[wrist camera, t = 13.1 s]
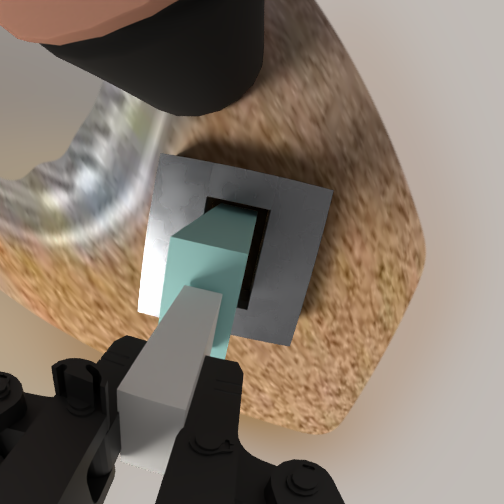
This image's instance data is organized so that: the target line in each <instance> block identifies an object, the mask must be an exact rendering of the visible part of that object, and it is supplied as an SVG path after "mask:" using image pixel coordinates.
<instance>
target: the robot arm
mask: <svg viewBox="0 0 504 504" xmlns="http://www.w3.org/2000/svg"><path fill="white" fill-rule="evenodd" d="M222 295H223V294H221V293H217V292H212V291H208V290H204V289H199V288H195V287H191V286H187V285H184V287H183V288H182V290H181V291H180V293H179V294H178V296H177V297H176V299H175V300H174V302H173V303H172V305H171V306H170V308H169V309H168V311H167V312H166V314H165V315H164V317H163V318H162V320H161V321H160V323H159V324H158V326H157V327H156V329H155V330H154V332H153V334H152V335H151V337H150V338H149V340H148V341H145V340H141V339H138V338H135V337H131V336H128V335H126V336H124V337H122V338H120V339H118V340H116V341H114V342H113V344H112V345H111V346H110V347H109V348H108V350H107V352H105V353H104V355H103V356H102V357H101V360H99V361H98V362H97V363H94V362H92V361H89V360H85V359H80V358H69V359H65V360H61V361H58V362H57V363H55V364H54V365H53V366H52V374H53V381H54V387H55V392H56V395H55V396H54V397H46V396H40V395H34V394H30V393H25V392H23V388H22V384H21V383H20V381H19V380H18V379H17V378H16V377H14V376H13V375H11V374H9V373H5V372H0V504H103V503H104V500H105V498H106V495H107V493H108V491H109V488H110V486H111V484H112V482H113V479H114V476H115V465H114V464H115V462H116V459H117V457H118V455H119V453H120V455H121V462H123V463H126V464H129V465H132V466H135V467H138V468H141V469H145V470H148V471H152V472H155V473H158V474H162V475H164V477H163V480H162V483H161V487H160V490H159V493H158V496H157V499H156V503H155V504H345V503H344V501H343V499H342V497H341V495H340V493H339V491H338V489H337V487H336V485H335V483H334V481H333V479H332V477H331V476H330V475H329V473H328V472H327V471H326V470H325V469H324V468H322V467H321V466H319V465H318V464H316V463H313V462H309V461H307V460H295V459H294V460H290V461H285V462H283V463H281V464H280V465H278V466H275V465H272V464H270V463H267V462H265V461H262V460H260V459H258V458H256V457H254V456H252V455H251V454H250V453H249V452H247V451H246V450H245V449H244V448H243V446H242V445H241V443H240V441H239V438H238V424H239V414H240V404H241V394H242V384H243V374H244V373H243V371H242V370H241V368H240V366H239V364H238V362H234V361H229V360H224V359H220V358H215V357H211V356H210V354H211V350H212V345H213V340H214V335H215V330H216V325H217V320H218V315H219V310H220V305H221V300H222Z"/></svg>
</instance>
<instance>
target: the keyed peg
mask: <svg viewBox="0 0 504 504" xmlns="http://www.w3.org/2000/svg"><path fill="white" fill-rule="evenodd" d="M257 214H258V211H256V210H251V209H247V208H242V207H238V206H233V205H229V204H224V203H220V204H219V205H217V206H216V207H214V208H213V209H211V210H210V211H208V212H207V213H205V214H203V215H202V216H200V217H199V218H197V219H196V220H194V221H193V222H191V223H190V224H188V225H187V226H185V227H184V228H182V229H181V230H179V231H178V232H177V233H175V234H174V235H172V236H171V237H170V242H169V249H168V255H167V262H166V269H165V276H164V283H163V291H162V299H161V307H160V315H159V323H160V321H161V320H162V318H163V317H164V315H165V314H166V312H167V311H168V309H169V308H170V306H171V305H172V303H173V302H174V300H175V299H176V297H177V296H178V294H179V293H180V291H181V290H182V288H183V287H184V285H187V286H191V287H195V288H199V289H204V290H208V291H212V292H217V293H221V294H223V295H222V300H221V305H220V310H219V315H218V320H217V325H216V330H215V335H214V340H213V345H212V350H211V354H210V356H211V357H215V358H220V359H224V360H225V356H226V352H227V347H228V343H229V338H230V334H231V329H232V325H233V321H234V316H235V312H236V307H237V303H238V298H239V294H240V289H241V285H242V281H243V276H244V272H245V267H246V263H247V259H248V254H249V250H250V245H251V241H252V236H253V232H254V227H255V223H256V218H257Z"/></svg>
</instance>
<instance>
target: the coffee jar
mask: <svg viewBox="0 0 504 504" xmlns="http://www.w3.org/2000/svg"><path fill="white" fill-rule="evenodd" d="M0 25H1V26H2V27H3V28H5V29H6V30H7V31H8V32H10V33H11V34H12V35H14V36H15V37H16V38H17V39H20V40H24V41H27V42H34V43H39V44H41V45H42V46H43V47H45V48H46V49H47V50H49V51H50V52H51V53H53V54H54V55H55V56H56V57H58V58H60V59H63V60H65V61H67V62H69V63H71V64H73V65H75V66H77V67H79V68H81V69H83V70H85V71H87V72H89V73H91V74H93V75H95V76H97V77H99V78H101V79H103V80H105V81H107V82H109V83H111V84H113V85H114V86H116V87H118V88H120V89H122V90H124V91H126V92H128V93H129V94H131V95H133V96H135V97H137V98H139V99H140V100H142V101H144V102H146V103H148V104H150V105H151V106H153V107H155V108H157V109H158V110H161V111H164V112H167V113H170V114H173V115H176V116H201V115H205V114H209V113H212V112H216V111H220V110H222V109H223V108H225V107H227V106H228V105H230V104H232V103H233V102H235V101H237V100H239V99H240V98H241V97H242V96H243V94H244V93H245V92H246V91H247V90H248V89H249V88H250V87H251V86H252V85H253V84H254V82H255V80H256V78H257V76H258V73H259V71H260V69H261V67H262V62H263V51H264V0H0Z"/></svg>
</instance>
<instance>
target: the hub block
mask: <svg viewBox="0 0 504 504" xmlns="http://www.w3.org/2000/svg"><path fill="white" fill-rule="evenodd" d="M333 191H334V190H330V189H326V188H323V187H319V186H315V185H311V184H307V183H303V182H299V181H295V180H291V179H287V178H282V177H278V176H274V175H270V174H265V173H261V172H256V171H252V170H247V169H242V168H238V167H233V166H228V165H223V164H218V163H213V162H208V161H202V160H197V159H192V158H186V157H180V156H175V155H169V154H163V153H161V154H160V159H159V164H158V169H157V174H156V179H155V185H154V190H153V196H152V202H151V208H150V214H149V221H148V227H147V234H146V242H145V249H144V257H143V265H142V274H141V283H140V293H139V304H138V312H141V313H145V314H149V315H152V316H156V317H159V315H160V307H161V299H162V291H163V283H164V276H165V269H166V262H167V255H168V249H169V242H170V237H171V236H172V235H174V234H175V233H177V232H178V231H179V230H181V229H182V228H184V227H185V226H187V225H188V224H190V223H191V222H193V221H194V220H196V219H197V218H199V217H200V216H202V215H203V214H205V213H207V212H208V211H210V210H211V209H212V206H213V201H214V198H218V199H223V200H228V201H232V202H237V203H241V204H246V205H250V206H255V207H259V208H264V209H268V214H267V218H266V222H265V227H264V231H263V235H262V240H261V244H260V248H259V252H258V257H257V261H256V265H255V269H254V274H253V278H252V282H251V286H250V291H249V290H244V289H240V294H239V298H238V303H237V307H236V312H235V316H234V321H233V325H232V329H231V334H230V335H235V336H239V337H244V338H249V339H254V340H259V341H264V342H269V343H274V344H279V345H285V346H290V344H291V341H292V337H293V334H294V331H295V328H296V325H297V321H298V318H299V315H300V312H301V308H302V305H303V302H304V298H305V295H306V292H307V288H308V285H309V281H310V278H311V274H312V271H313V267H314V264H315V260H316V256H317V253H318V249H319V245H320V242H321V238H322V234H323V230H324V227H325V223H326V219H327V215H328V211H329V207H330V203H331V199H332V195H333Z"/></svg>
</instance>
